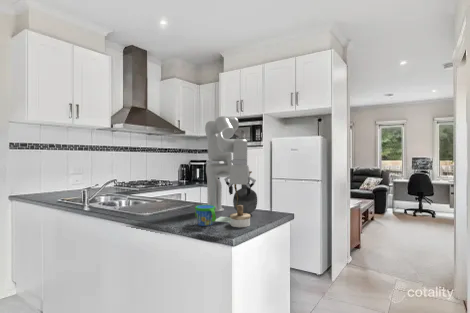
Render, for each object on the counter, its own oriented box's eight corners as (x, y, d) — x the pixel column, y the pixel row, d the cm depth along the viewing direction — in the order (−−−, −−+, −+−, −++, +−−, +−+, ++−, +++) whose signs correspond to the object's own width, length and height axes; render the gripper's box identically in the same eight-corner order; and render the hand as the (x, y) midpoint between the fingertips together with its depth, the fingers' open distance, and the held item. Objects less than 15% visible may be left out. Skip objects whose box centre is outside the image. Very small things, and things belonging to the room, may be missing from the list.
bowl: (228, 227, 152) (228, 218, 152) (234, 222, 162) (234, 214, 161) (246, 228, 149) (246, 220, 149) (251, 224, 158) (251, 216, 158)
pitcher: (259, 214, 183) (259, 166, 183) (242, 220, 168) (242, 168, 167) (244, 212, 190) (245, 166, 189) (227, 218, 174) (227, 167, 174)
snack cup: (221, 226, 153) (221, 207, 153) (204, 230, 147) (204, 209, 147) (206, 221, 166) (206, 203, 166) (189, 223, 159) (189, 205, 159)
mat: (212, 222, 163) (212, 221, 163) (220, 217, 175) (220, 216, 175) (233, 223, 160) (233, 222, 160) (239, 219, 171) (239, 218, 171)
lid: (226, 218, 152) (226, 206, 152) (233, 214, 162) (233, 203, 162) (247, 220, 148) (247, 208, 148) (252, 215, 159) (252, 204, 159)
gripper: (222, 162, 154) (222, 194, 155) (254, 163, 149) (253, 197, 149) (227, 161, 161) (226, 192, 162) (257, 162, 156) (257, 194, 156)
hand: (239, 194), depth 156 cm, fingers open, 9 cm apart
